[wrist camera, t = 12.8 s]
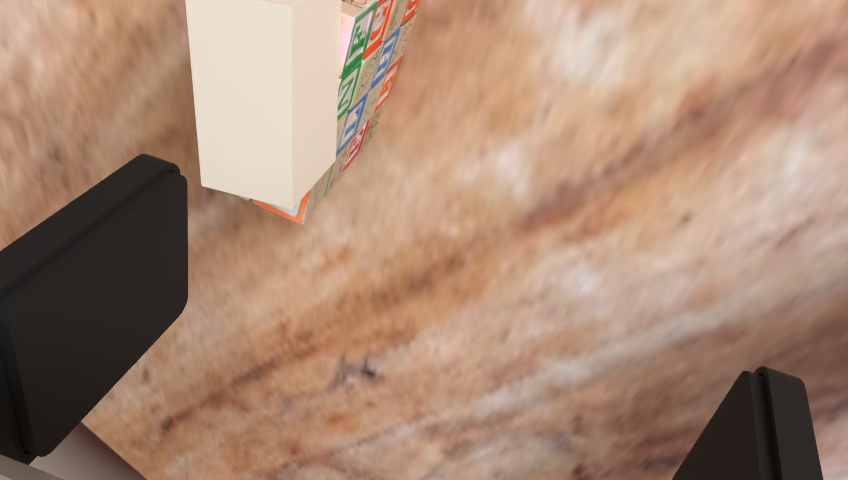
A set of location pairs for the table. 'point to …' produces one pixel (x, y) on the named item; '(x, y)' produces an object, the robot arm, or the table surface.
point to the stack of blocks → (359, 85)
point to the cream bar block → (265, 94)
